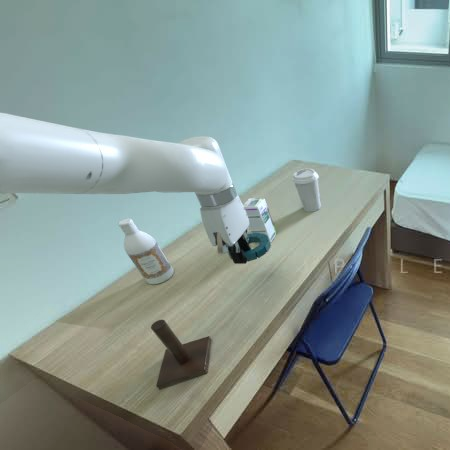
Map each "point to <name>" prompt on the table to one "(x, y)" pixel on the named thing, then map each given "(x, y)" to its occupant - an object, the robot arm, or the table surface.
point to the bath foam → (145, 253)
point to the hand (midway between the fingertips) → (243, 258)
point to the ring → (258, 250)
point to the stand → (180, 356)
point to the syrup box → (259, 217)
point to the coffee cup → (307, 189)
